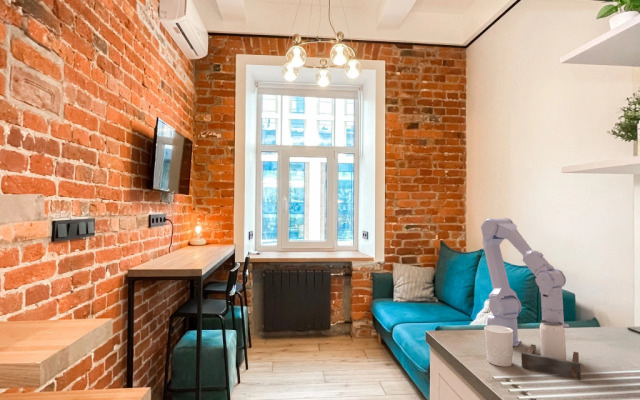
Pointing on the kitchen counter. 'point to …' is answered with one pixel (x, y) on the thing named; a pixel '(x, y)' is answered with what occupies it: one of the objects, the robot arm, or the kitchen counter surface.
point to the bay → (551, 364)
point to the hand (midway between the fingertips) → (554, 353)
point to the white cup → (499, 345)
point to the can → (552, 340)
